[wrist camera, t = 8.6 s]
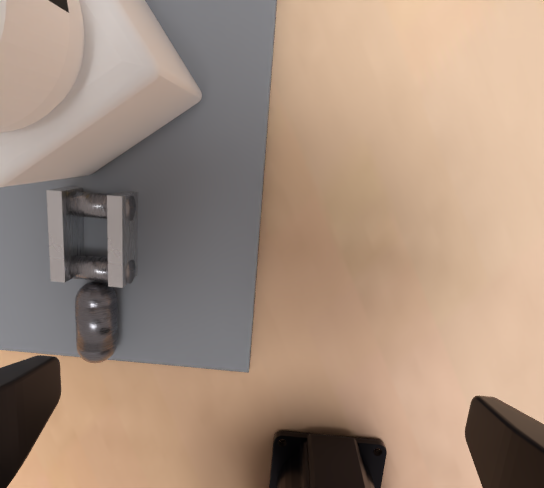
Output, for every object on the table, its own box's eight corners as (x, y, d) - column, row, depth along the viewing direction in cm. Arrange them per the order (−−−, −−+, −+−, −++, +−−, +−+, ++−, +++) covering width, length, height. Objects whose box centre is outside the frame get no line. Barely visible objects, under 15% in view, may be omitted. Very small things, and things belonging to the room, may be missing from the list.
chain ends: (137, 354, 23) (123, 373, 21) (73, 348, 23) (53, 367, 21) (141, -320, 16) (121, -385, 14) (50, -326, 16) (17, -392, 14)
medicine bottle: (-3, 46, 19) (-453, -112, 7) (118, -46, 18) (-187, -396, 6) (89, 177, 20) (-175, 216, 9) (206, 99, 19) (85, 23, 8)
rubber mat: (249, 367, 23) (248, 372, 23) (-29, 342, 23) (-36, 346, 23) (300, -312, 16) (300, -327, 16) (-96, -338, 16) (-107, -353, 16)
